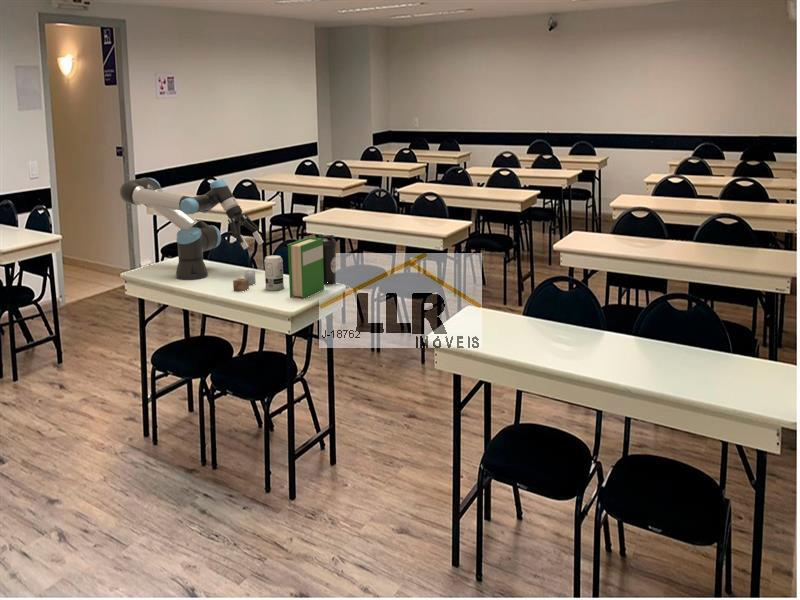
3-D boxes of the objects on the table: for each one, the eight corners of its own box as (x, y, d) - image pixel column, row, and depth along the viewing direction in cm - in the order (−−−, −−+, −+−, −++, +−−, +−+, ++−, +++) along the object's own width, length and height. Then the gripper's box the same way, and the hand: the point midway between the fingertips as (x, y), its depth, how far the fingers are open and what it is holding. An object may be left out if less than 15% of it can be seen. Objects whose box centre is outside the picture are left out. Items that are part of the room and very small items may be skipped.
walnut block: (233, 291, 340) (233, 280, 339) (239, 288, 345) (239, 278, 344) (243, 292, 339) (242, 281, 337) (248, 289, 343) (248, 279, 342)
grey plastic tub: (242, 284, 351) (242, 272, 349) (248, 282, 356) (247, 270, 354) (252, 285, 349) (251, 273, 348) (257, 283, 354) (256, 271, 352)
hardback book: (304, 298, 328) (302, 245, 321) (289, 297, 330) (287, 244, 324) (324, 289, 343) (322, 238, 337) (310, 287, 346) (308, 237, 339)
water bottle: (334, 286, 349) (332, 237, 343) (313, 284, 351) (311, 237, 345) (339, 280, 359) (338, 233, 352) (319, 279, 361) (318, 233, 354)
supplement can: (266, 286, 348) (265, 255, 344) (284, 286, 349) (282, 254, 345) (265, 290, 340) (263, 259, 336) (283, 290, 341) (281, 258, 337)
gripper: (222, 207, 351) (245, 246, 352) (251, 201, 374) (272, 238, 374) (211, 215, 355) (234, 253, 355) (240, 209, 377) (262, 245, 377)
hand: (254, 245), depth 365 cm, fingers open, 13 cm apart
